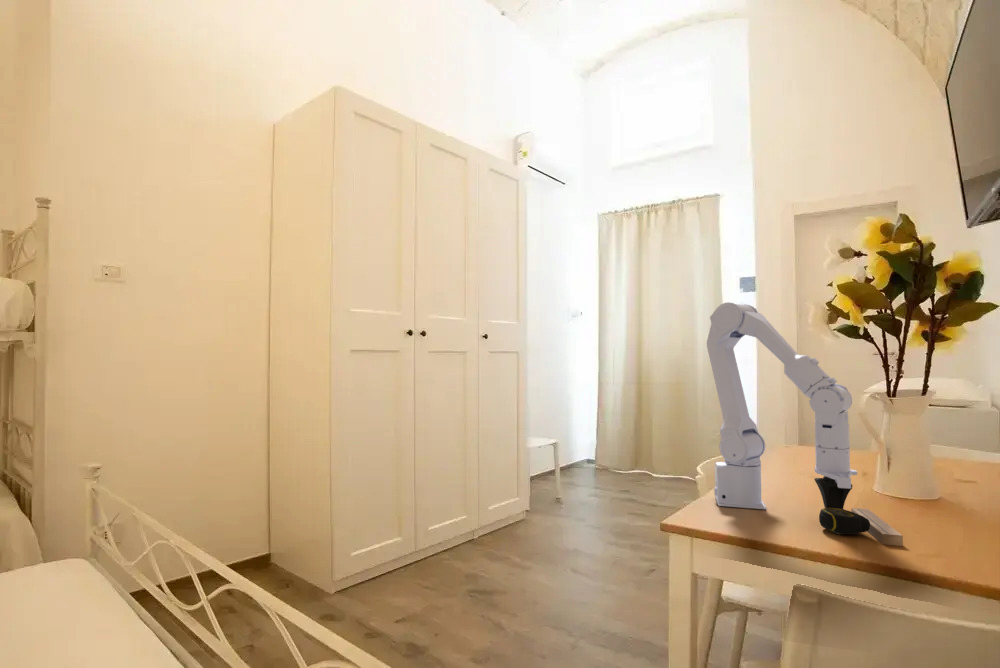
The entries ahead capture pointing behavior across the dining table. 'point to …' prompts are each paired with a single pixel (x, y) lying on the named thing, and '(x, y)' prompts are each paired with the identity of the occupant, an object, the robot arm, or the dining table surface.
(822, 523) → the tape measure
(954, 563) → the dining table surface
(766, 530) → the dining table surface
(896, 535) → the board
